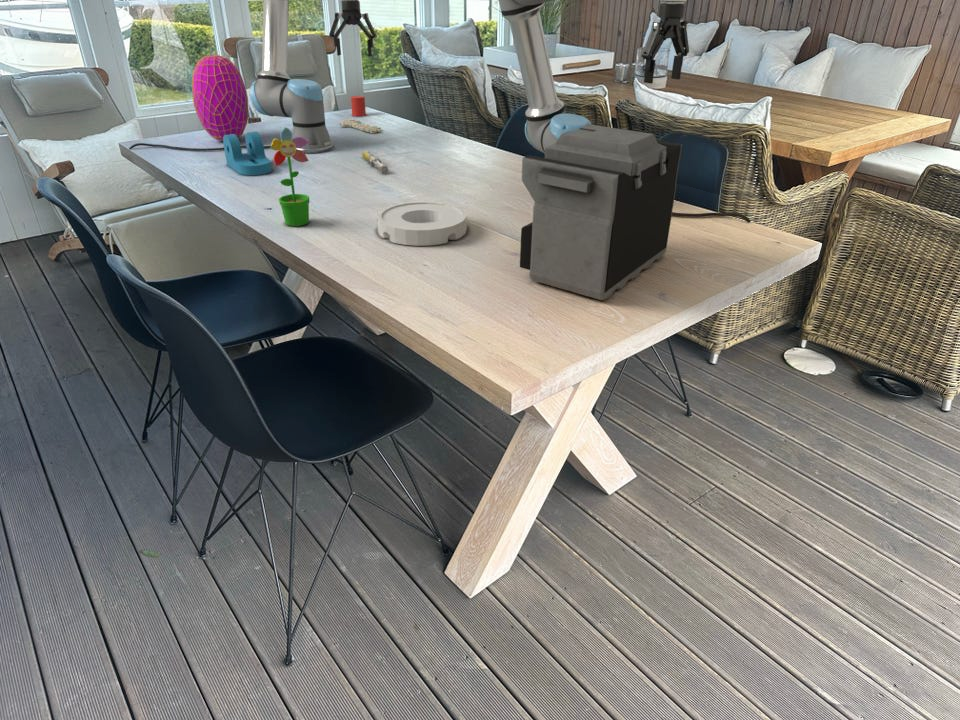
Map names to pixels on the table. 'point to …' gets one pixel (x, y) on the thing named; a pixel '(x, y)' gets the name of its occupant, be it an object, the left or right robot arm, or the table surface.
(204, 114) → the decorative egg
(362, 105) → the canister
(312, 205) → the table surface
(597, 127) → the grey cooler box
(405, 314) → the table surface
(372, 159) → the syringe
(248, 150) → the camera mount
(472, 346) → the table surface
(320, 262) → the table surface
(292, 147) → the potted flower
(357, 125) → the decorative sign
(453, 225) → the ashtray
